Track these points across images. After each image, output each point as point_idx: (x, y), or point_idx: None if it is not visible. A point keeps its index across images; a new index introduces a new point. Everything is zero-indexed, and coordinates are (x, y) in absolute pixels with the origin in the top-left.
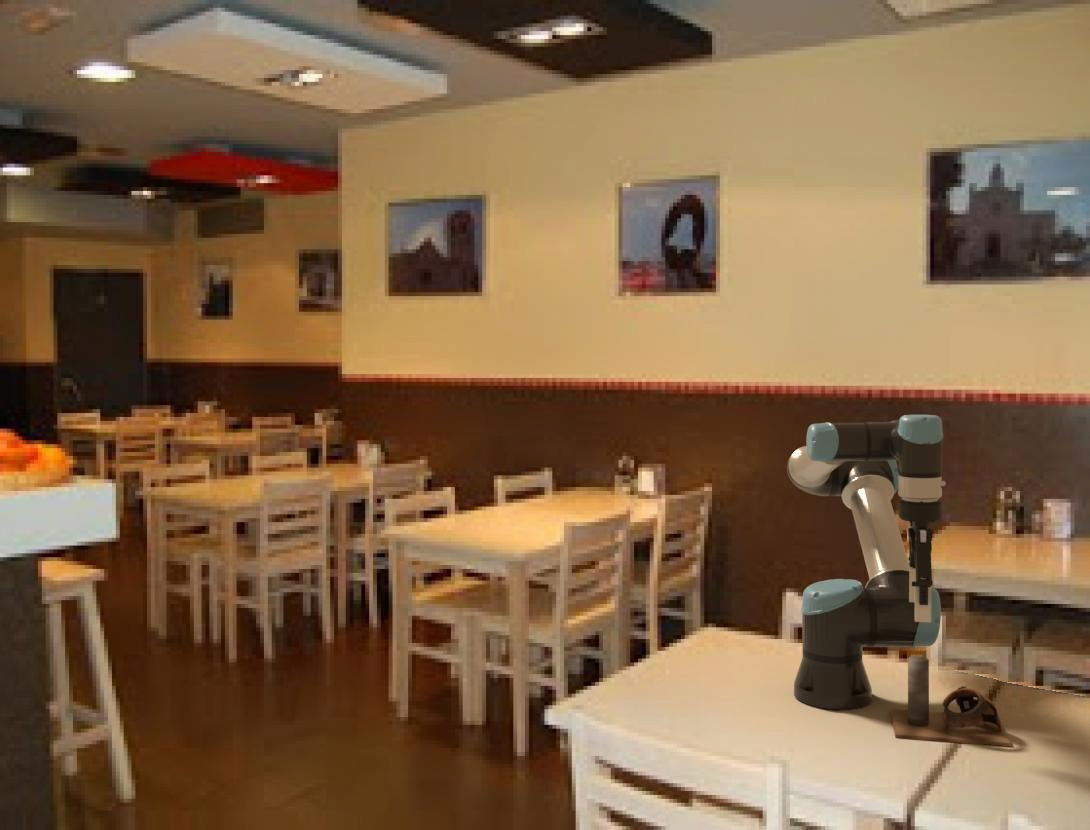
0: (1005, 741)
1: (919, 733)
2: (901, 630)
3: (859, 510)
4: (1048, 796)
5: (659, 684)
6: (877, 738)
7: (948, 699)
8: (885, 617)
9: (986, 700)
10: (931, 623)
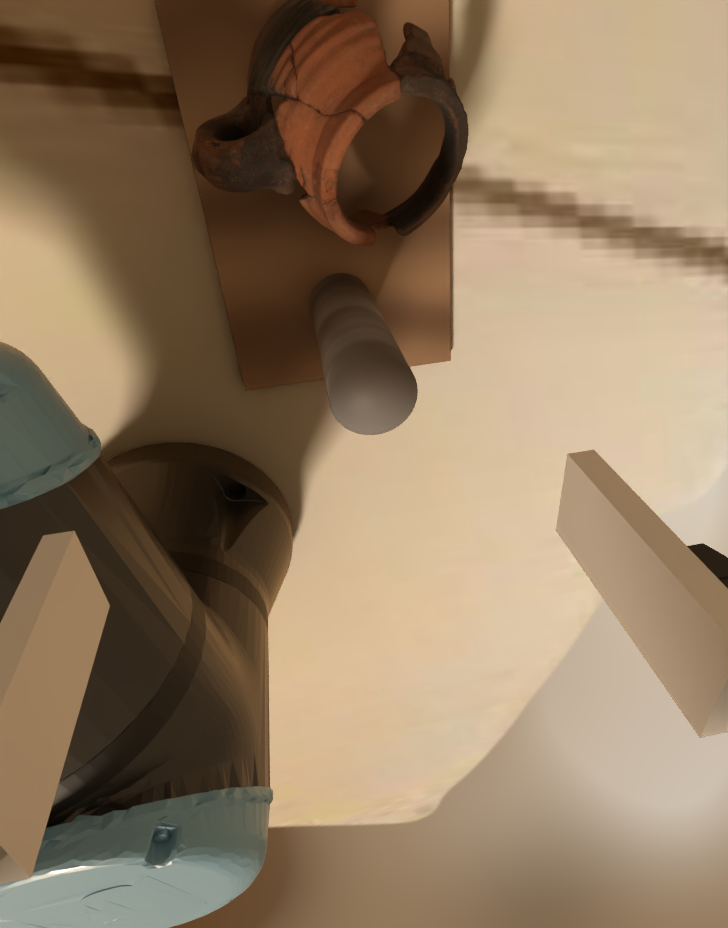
0: None
1: (428, 297)
2: (137, 517)
3: None
4: None
5: (270, 779)
6: (458, 397)
7: (359, 227)
8: (163, 620)
9: (382, 56)
10: (33, 408)
